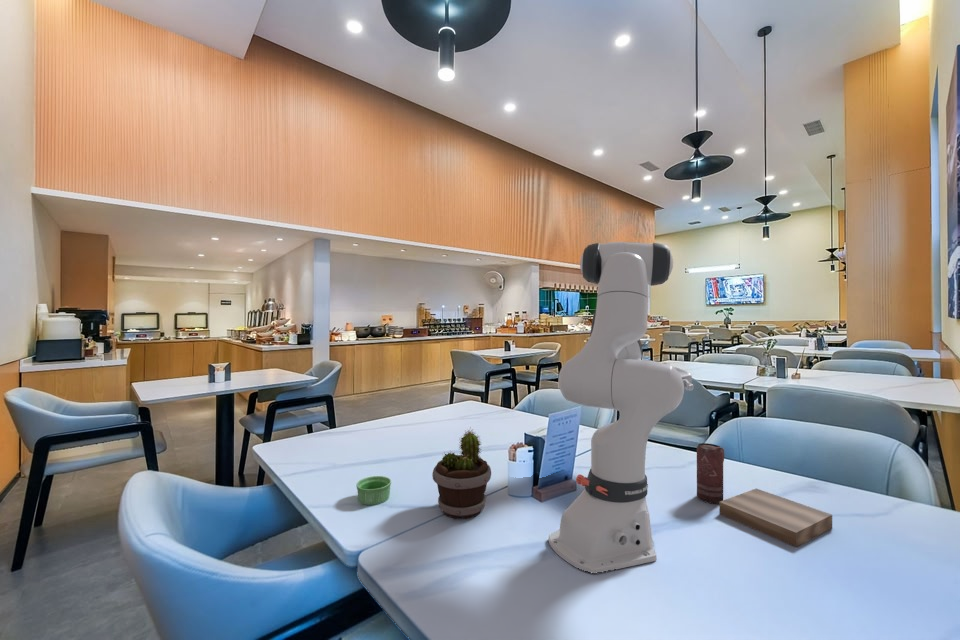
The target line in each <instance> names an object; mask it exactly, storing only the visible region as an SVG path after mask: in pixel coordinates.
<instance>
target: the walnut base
mask: <svg viewBox="0 0 960 640" xmlns="http://www.w3.org/2000/svg"><path fill="white" fill-rule="evenodd" d="M718 510H719V515H720V516H723V517H725V518H727V519H730V520H732V521H735V522H736V523H739V524H742V525H744V526H747V527H748V528H751V529H753V530H755V531H758V532H760V533H763V534H765V535H767V536H769V537H771V538H774V539H777V540H779V541H781V542H784V543H785V544H788V545H791V546H793V547H795V548H798V547H799V546H801V545H803V544H805V543H807V542H809V541H810V540H812V539H815V538H816V537H818V536H820V535H822V534H824V533H825V532H828V531H830V530H831V529H833V514H831V513H829V512H826V511H822V510H820V509H816V508H814V507H811V506H808V505H805V504H802V503H800V502H797V501H794V500H791V499H787V498H785V497H783V496H779V495H776V494H774V493H770V492H768V491H765V490H761V489H760V488H754V489H751V490H748V491H745V492H743V493H741V494H737V495H734V496H731V497H729V498H726V499H723V501H720V502H719V509H718Z"/></svg>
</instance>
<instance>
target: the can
mask: <svg viewBox="0 0 960 640" xmlns="http://www.w3.org/2000/svg"><path fill="white" fill-rule="evenodd" d="M724 461H725V448H724V447H721V446H720V445H717V444H713V443H703V442H702V443H697V446H696V497H697V498H698V499H699V500H701V501H702V502H705V503H707V502H708V504H712V503H713V505H715V504H716V505H718V504H719V502H720V501H723V500H724Z"/></svg>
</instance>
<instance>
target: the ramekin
mask: <svg viewBox="0 0 960 640" xmlns="http://www.w3.org/2000/svg"><path fill="white" fill-rule="evenodd" d="M391 484H392V480H391V478H389V477H387V476H383V475H380V476H379V475H375V476H369V477H368V476H367V477H364V478H362V479H360V480H359V481H357V483H356V489H357V499H358V503H360V504H361V505H364V506H365V505H366V506H375V505H380V504H383V503H385V502H386V501H387V500H389V499H390V494H391Z"/></svg>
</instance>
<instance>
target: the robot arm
mask: <svg viewBox="0 0 960 640" xmlns="http://www.w3.org/2000/svg"><path fill="white" fill-rule="evenodd" d="M579 266H580V267H579V268H580V272H581V274H582V278H583V279H584V280H585V281H586V282H588V283H591V284H595V285H598V288H597V297H596V307H595V309H594V313H593V314H592V321H591V327H590V333H589V339H587V342H586V343H585V345H584V346H583V347H582V348H581V350H580V351H579V352H577V354H575V355H574V356H572V357H571V358H570V359H568V360H567V361H566V362H565V363H564V364H563V365H562V366H561V368H560V370H559V374H558V380H557V381H558V382H557V383H558V387H559V390H560V393H561V395H562V397H564V399H565V400H566V401H569V402H572V403H574V404H576V405H581V406H583V407H590V408H597V409H599V408H600V409H608V410H616V411H618V412H619V418H618V420H616V421H614V422H611V423H608V424H606V425H603V426H600V427H599V428H598V429H596V430H595V431H594V432H593V434H592V437H591V440H590V454H591V455H590V465H591V466H590V469H589V470H588V474H587V477H586V476H584V475H583V474H578V475H576V477H575V482H576V483H577V484H578V485H580V486H582V487H584V490H583V491H582V492H581V493H580V494H579V495H578V496H577V497H576V499H574V500H573V501H572V503H571V504H570V505H569V506H568V507H567V508H566V509H565V510H564V511H563V512H562V515H561V519H560V524H559V525H560V526H559V529H558V530H555V531H554V532H551V533H550V534H549V535H548V544H549V546H550V548H551V549H552V550H553V551H554V552H555V553H556V554H557V555H558V556H559V557H560V558H561V559H563V560H564V561H566V562H567V563H568V564H569V565H571V566H574V568H577V569H578V568H579V570H581V569H582V570H581V571H583V570H584V571H583V572H585V571H588V572H592V573H596V572H602V571H606V572H609V571H608V570H611V571H615V570H614V569H616V570H619V569H624V568H629V567H634V566H638V565H642V564H648V563H652V562H656V560H657V559H658V558H657V552H656V550H655V549H654V547H655V542H654V539H653V536H652V526H651V525H652V524H651V517H650V512H649V508H648V505H647V498H646V497H647V495H648V488H649V483H648V476H647V475H646V452H647V444H648V441H649V436H650V434H651V433H652V430H653V429H654V427H655V426H656V424H657V423H658V422H659V421H660V420H661V419H663V417H665V416H667V415H668V414H670V413H672V412H674V411H675V410H676V409H677V408H678V406H679V405H680V404H681V403H682V400H683V399H684V398H683V397H684V394H685V391H688V392H690V391H691V392H692V391H693V390H694V389H695V386H694V384H693V383H692V379H693V378H692V377H693V376H692V373H690V372H689V371H686V370H684V369H682V368H679V367H677V366H673V365H671V364H670V363H669V362H660V361H656V360H655V361H654V360H650V359H642V358H643V345H642V342H641V339H642V338H643V337H644V336H645V334H646V333H647V330H648V316H649V314H648V313H649V311H648V310H649V285H650V286H658V285H662V284H664V283H665V282H667V281H668V280H669V277H670V275H671V274H672V271H673V268H674V259H673V255H672V252H671V249H670V247H668V245H666V244H663V243H659V242H653V243H648V242H647V243H646V242H627V241H613V242H605V243H600V242H596V243H592V244H591V243H590V244H588V245H587V246H585V248H584V249H583V252H582V254H581V256H580V261H579ZM588 572H587V573H588ZM592 573H591V574H592ZM602 573H603V572H602Z"/></svg>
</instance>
